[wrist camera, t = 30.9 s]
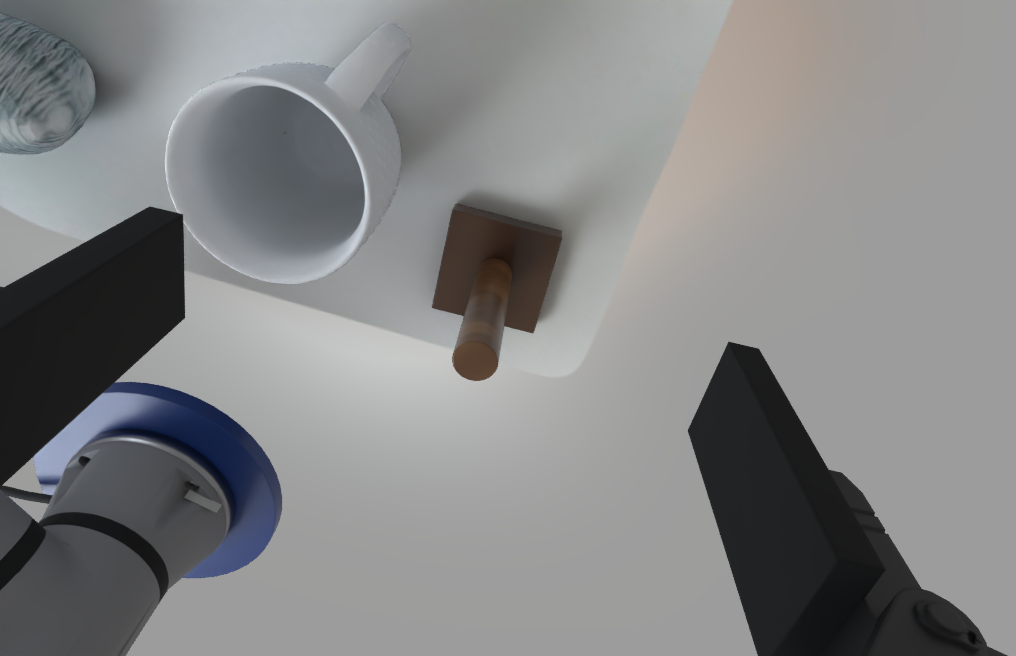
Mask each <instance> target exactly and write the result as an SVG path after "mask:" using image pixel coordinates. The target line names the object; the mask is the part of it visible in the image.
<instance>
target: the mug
mask: <svg viewBox="0 0 1016 656" xmlns="http://www.w3.org/2000/svg"><path fill="white" fill-rule="evenodd" d="M411 47H412V41H411V39H410V37H409V36H408V34H407V33H406V32H405V31H404V30H403V29H402V28H401V27H400V26H399V25H397V24H395V23H393V22H386V23H383V24H382V25H380V26H379V27H378V28H377V29H376V30H374V31H373V32H372V33H371V34H370V35H369V36H368V37H367V38H366V39H365V40H364V41H363V42H362V43H361V44H360V45H359V46H358V47H357V48H356V49H355V50H354V51H353V52H352V53H351V54H350V55H348V56H347V57H346V58H345V59H344V60H343V61H342V62H341V63H340V64H339V65H338V66H337V68H336V69H333V68H329V67H327V66H323V65H316V64H311V63H306V64H305V63H283V64H273V65H270V66H261V67H259V68H257V69H250V70H247V71H246V72H241V73H237V74H235V75H233V76H230V77H227V78H223V79H221V80H218V81H215V82H213V83H211V84H209V85H207V86H206V87H204V88H202V89H201V90H199V91H198V92H197V93H195V94H194V95H193V96H192V97H191V98H190V99H188V101H187V102H186V103H185V104H184V105H183V106H182V108H181V109H180V111H179V112H178V114H177V115H176V117H175V119H174V121H173V123H172V126H171V128H170V131H169V134H168V138H167V143H166V149H165V174H166V182H167V185H168V189H169V193H170V196H171V199H172V201H173V204H174V206H175V209H176V211H177V213H179V214H183V223H184V224H185V226H186V227H187V229H188V230H189V231H190V233H191V234H192V235H193V236H194V238H195V239H196V240H197V241H198V242H199V243H200V244H201V245H202V246H203V247H204V248H205V249H206V250H207V251H208V252H209V253H210V254H212V255H213V256H214V257H215V258H216V259H218V260H219V261H221V262H222V263H224V264H225V265H227V266H228V267H230V268H232V269H234V270H236V271H238V272H240V273H242V274H244V275H247V276H249V277H252V278H255V279H258V280H261V281H265V282H270V283H278V284H300V283H306V282H311V281H315V280H318V279H320V278H323V277H325V276H327V275H329V274H331V273H333V272H335V271H336V270H338V269H339V268H341V267H342V266H343V265H345V264H346V263H347V262H348V261H349V260H350V259H351V258H352V257H353V256H354V255H355V253H356V252H357V251H358V250H359V248H360V247H361V246H362V244H364V243H365V242H366V241H367V239H368V236H369V235H371V234H372V233H373V231H374V229H375V227H376V226H377V225H378V224H379V223H380V220H381V218H382V217H383V216H384V214H385V213H386V210H387V208H388V207H389V206H390V203H391V199H392V198H393V196H394V195H395V191H396V187H397V185H398V181H399V174H400V170H401V167H400V165H401V154H400V153H401V150H400V148H401V145H400V142H399V137H398V134H397V130H396V127H395V124H394V122H393V120H392V117H391V115H390V114H389V111H388V110H387V109H386V107H385V105H384V104H383V103H382V102H381V98H382V97H383V95H384V94H385V92H386V90H387V88H388V87H389V85H390V84H391V82H392V81H393V79H394V78H395V76H396V74H397V73H398V71H399V69H400V67H401V65H402V64H403V62H404V60H405V58H406V57H407V55H408V53H409V51H410V49H411Z"/></svg>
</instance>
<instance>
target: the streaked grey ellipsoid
mask: <svg viewBox="0 0 1016 656" xmlns="http://www.w3.org/2000/svg"><path fill="white" fill-rule="evenodd" d="M94 102H95V80H94V75H93V71H92V70H91V68H90V66H89V65H88V63H87V61H86V60H85V59H84V57H83V56H82V54H81V53H80V52H79V51H78V50H77V49H76V48H75V47H74V46H73V45H71V44H70V43H69V42H67V41H65V40H63V39H61V38H59V37H57V36H55V35H53V34H51V33H49V32H47V31H45V30H43V29H41V28H39V27H37V26H35V25H32V24H29V23H27V22H24V21H21V20H18V19H16V18H13V17H10V16H8V15H5V14H1V13H0V152H1V153H8V154H39V153H43V152H47V151H50V150H53V149H55V148H57V147H59V146H61V145H63V144H64V143H65V142H66V141H67V140H69V139H70V138H71V137H72V136H73V135H74V134H75V133H76V132H77V131H78V130H79V129H80V128H81V127H82V126H83V124H84V122H85V120H86V119H87V117H88V116H89V114H90V113H91V110H92V108H93V105H94Z"/></svg>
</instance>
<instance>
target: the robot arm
mask: <svg viewBox="0 0 1016 656" xmlns="http://www.w3.org/2000/svg"><path fill="white" fill-rule="evenodd" d="M184 318H185V293H184V232H183V214H179V213H175V212H171V211H167V210H162V209H158V208H154V207H148V208H146V209H144V210H143V211H141V212H139V213H137V214H135V215H134V216H132V217H130V218H128V219H126V220H125V221H123V222H121V223H119V224H117V225H116V226H114V227H112V228H110V229H108V230H107V231H105V232H103V233H101V234H99V235H98V236H96V237H94V238H92V239H90V240H89V241H87V242H85V243H83V244H81V245H80V246H78V247H76V248H74V249H72V250H71V251H69V252H67V253H65V254H63V255H62V256H60V257H58V258H56V259H54V260H53V261H51V262H49V263H47V264H46V265H44V266H42V267H40V268H38V269H36V270H35V271H33V272H31V273H29V274H27V275H26V276H24V277H22V278H20V279H18V280H17V281H15V282H13V283H11V284H9V285H8V286H6V287H0V656H126V654H127V653H128V651H129V649H130V648H131V646H132V645H133V643H134V641H135V640H136V638H137V637H138V635H139V634H140V632H141V631H142V629H143V627H144V626H145V624H146V623H147V621H148V620H149V618H150V616H151V615H152V613H153V612H154V610H155V609H156V607H157V605H158V604H159V602H160V601H161V599H162V598H163V596H164V595H165V593H166V592H167V590H168V589H169V588H170V587H172V586H173V585H174V584H175V583H176V582H177V581H179V580H180V579H181V578H183V577H184V576H185V575H186V574H188V573H189V572H190V571H191V570H192V569H194V568H195V567H196V566H197V565H199V564H200V563H201V562H202V561H203V560H205V559H206V558H207V557H208V556H210V555H211V554H212V553H213V552H214V551H215V550H216V549H217V548H218V547H219V546H220V545H221V543H222V542H223V540H224V538H225V537H226V535H227V533H228V532H229V530H230V528H231V527H232V524H233V521H234V518H235V502H234V497H233V494H232V491H231V489H230V487H229V485H228V483H227V481H226V480H225V478H224V477H223V475H222V474H221V473H220V471H219V470H218V469H217V468H216V467H215V466H214V465H213V464H212V463H211V462H210V461H209V460H208V459H207V458H206V457H205V456H203V455H202V454H201V453H199V452H198V451H197V450H195V449H194V448H192V447H190V446H189V445H187V444H185V443H183V442H181V441H179V440H177V439H175V438H172V437H170V436H167V435H164V434H161V433H157V432H153V431H148V430H141V429H119V430H113V431H108V432H105V433H103V434H100V435H98V436H96V437H94V438H93V439H91V440H90V441H89V442H88V443H87V444H85V445H84V446H83V447H82V448H81V449H80V450H79V451H78V452H77V453H76V454H75V455H74V456H73V457H72V458H71V460H70V461H69V463H68V464H67V466H66V468H65V470H64V472H63V474H62V476H61V479H60V481H59V483H58V485H57V487H56V490H55V492H54V494H53V495H47V494H39V493H34V492H28V491H24V490H20V489H16V488H12V487H7V486H2V485H3V484H4V483H5V482H6V481H7V480H8V479H9V478H10V477H12V475H14V474H15V473H16V472H17V471H18V470H19V469H20V468H21V467H22V466H23V465H25V464H26V463H27V462H28V461H29V460H30V459H31V458H32V457H33V456H34V455H36V454H37V453H38V452H39V451H40V450H41V449H42V448H43V447H44V446H45V445H46V444H48V443H49V442H50V441H51V440H52V439H53V438H54V437H55V436H56V435H57V434H59V433H60V432H61V431H62V430H63V429H64V428H65V427H66V426H67V425H68V424H69V423H71V422H72V421H73V420H74V419H75V418H76V417H77V416H78V415H79V414H80V413H81V412H83V411H84V410H85V409H86V408H87V407H88V406H89V405H90V404H91V403H92V402H93V401H95V400H96V399H97V398H98V397H99V396H100V395H101V394H102V393H103V392H104V391H105V390H107V389H108V388H109V387H110V386H111V385H112V384H113V383H114V382H115V381H116V380H117V379H119V378H120V377H121V376H122V375H123V374H124V373H125V372H126V371H127V370H128V369H130V368H131V367H132V366H133V365H134V364H135V363H136V362H137V361H138V360H139V359H140V358H142V357H143V355H145V354H146V353H147V352H148V351H149V350H150V349H151V348H152V347H154V346H155V345H156V344H157V343H158V342H159V341H160V340H161V339H162V338H163V337H164V336H166V335H167V334H168V332H170V331H171V330H172V329H173V328H174V327H175V326H176V325H178V324H179V323H180V322H181V321H182V320H183V319H184ZM688 433H689V436H690V439H691V442H692V445H693V449H694V452H695V455H696V458H697V462H698V465H699V468H700V471H701V474H702V478H703V481H704V484H705V487H706V490H707V494H708V497H709V500H710V503H711V507H712V510H713V513H714V516H715V519H716V523H717V526H718V529H719V532H720V535H721V538H722V542H723V545H724V548H725V551H726V554H727V558H728V561H729V564H730V567H731V571H732V574H733V577H734V580H735V583H736V587H737V590H738V593H739V596H740V599H741V603H742V606H743V609H744V612H745V616H746V619H747V622H748V625H749V629H750V632H751V635H752V638H753V641H754V645H755V648H756V651H757V654H758V656H1007V655H1005V654H1003V653H1001V652H998V651H996V650H994V649H992V648H989V647H987V644H986V642H985V640H984V638H983V636H982V634H981V633H980V631H979V629H978V628H977V627H976V626H975V625H974V623H973V622H972V621H971V620H970V619H969V618H968V617H967V616H966V615H965V614H964V613H963V612H962V611H960V610H959V609H958V608H957V607H955V606H954V605H953V604H951V603H950V602H949V601H947V600H945V599H943V598H942V597H940V596H938V595H936V594H934V593H932V592H930V591H927V590H923V589H921V587H920V585H919V584H918V582H917V581H916V579H915V577H914V576H913V574H912V572H911V571H910V569H909V568H908V566H907V564H906V563H905V561H904V559H903V558H902V556H901V555H900V553H899V551H898V550H897V548H896V547H895V545H894V543H893V542H892V540H891V538H890V537H889V535H888V534H885V529H884V527H883V525H882V524H881V522H880V521H879V519H878V517H875V516H874V514H875V512H874V511H873V509H872V508H871V506H870V504H869V503H868V501H867V500H866V498H865V496H864V495H863V493H862V492H861V491H860V490H859V489H858V488H857V487H856V486H855V485H854V484H853V483H852V482H851V481H850V480H849V479H848V478H847V477H846V476H845V475H844V474H843V473H841V472H835V471H831V470H828V468H827V466H826V465H825V463H824V461H823V459H822V458H821V456H820V454H819V452H818V451H817V449H816V447H815V445H814V444H813V442H812V440H811V438H810V437H809V435H808V433H807V432H806V430H805V428H804V426H803V425H802V423H801V421H800V419H799V418H798V416H797V415H796V412H795V411H794V409H793V407H792V406H791V404H790V402H789V400H788V399H787V397H786V395H785V393H784V392H783V390H782V388H781V386H780V385H779V383H778V381H777V380H776V378H775V376H774V374H773V373H772V371H771V369H770V367H769V366H768V364H767V362H766V361H765V359H764V357H763V355H762V353H761V352H760V350H759V349H757V348H753V347H749V346H744V345H740V344H736V343H732V342H728V344H727V346H726V349H725V351H724V353H723V355H722V357H721V359H720V362H719V364H718V366H717V368H716V370H715V373H714V375H713V377H712V379H711V381H710V383H709V386H708V388H707V390H706V392H705V394H704V397H703V399H702V401H701V403H700V405H699V407H698V410H697V412H696V414H695V416H694V418H693V420H692V423H691V425H690V427H689V429H688ZM8 496H11V497H15V498H19V499H23V500H28V501H35V502H41V503H47V504H49V505H48V507H47V509H46V512H45V513H44V516H43V518H42V519H41V520H40V522H39V523H37V522H36V521H35V520H34V519H33V518H32V517H31V516H30V515H28V514H27V513H26V512H25V511H24V510H23V509H22V508H21V507H19V506H18V505H17V504H16V503H15V502H14V501H13V500H12V499H10V498H9V497H8Z"/></svg>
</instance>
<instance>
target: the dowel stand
mask: <svg viewBox="0 0 1016 656" xmlns="http://www.w3.org/2000/svg"><path fill="white" fill-rule="evenodd" d="M561 241H562V231H559V230H555V229H552V228H548V227H544V226H540V225H536V224H532V223H528V222H525V221H521V220H517V219H513V218H509V217H505V216H502V215H498V214H494V213H490V212H486V211H482V210H478V209H475V208H471V207H467V206H463V205H459V204H455V205H454V208H453V210H452V214H451V218H450V223H449V228H448V233H447V237H446V242H445V247H444V252H443V257H442V261H441V266H440V271H439V276H438V280H437V285H436V290H435V295H434V299H433V304H432V308H434V309H438V310H442V311H446V312H450V313H454V314H458V315H462V316H464V318H463V322H462V325H461V328H460V332H459V335H458V339H457V342H456V346H455V349H454V353H453V357H452V362H453V366H454V368H455V370H456V371H457V372H458V373H459V374H460V375H461V376H462V377H464V378H466V379H469V380H473V381H480V380H485V379H487V378H489V377H490V376H492V375H493V373H494V372H495V371H496V369H497V367H498V362H499V356H500V349H501V343H502V337H503V331H504V326H506V327H510V328H514V329H518V330H522V331H526V332H530V333H534V330H535V327H536V323H537V320H538V317H539V313H540V310H541V307H542V303H543V300H544V297H545V294H546V290H547V287H548V284H549V280H550V277H551V274H552V270H553V267H554V264H555V261H556V257H557V254H558V251H559V247H560V244H561Z"/></svg>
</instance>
